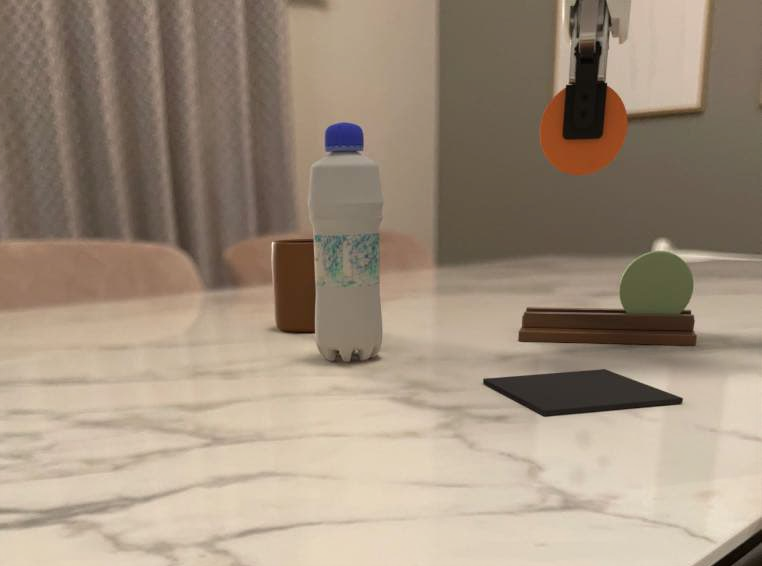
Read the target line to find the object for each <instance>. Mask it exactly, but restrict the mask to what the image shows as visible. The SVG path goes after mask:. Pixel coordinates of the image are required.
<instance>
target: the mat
mask: <svg viewBox="0 0 762 566" xmlns="http://www.w3.org/2000/svg"><path fill="white" fill-rule="evenodd" d="M482 384H483V385H485V386H487V387H489V388H491V389H493V390H495V391H497V392H499V393H501V394H502V395H504V396H506V397H508V398H510V399H511V400H514V402H515V401H516V402H517V403H519V404H521V405H523V406H525V407H526V408H529V409H530V410H532V411H534V412H536V413H538V414H540V415H542V416H543V417H548V416H559V415H569V414H581V413H591V412H592V413H593V412H602V411H614V410H623V409H636V408H646V407H647V408H648V407H657V406H667V405H677V404H678V405H679V404H683V403H684V398H683V397H682V396H679V395H676V394H673V393H670V392H668V391H665V390H662V389H660V388H657V387H654V386H652V385H649V384H646V383H644V382H641V381H638V380H635V379H633V378H630V377H627V376H625V375H622V374H619V373H616V372H615V371H611V370H609V369H607V368H602V369H601V368H600V369H588V370H577V371H562V372H551V373H550V372H549V373H538V374H524V375H514V376H513V375H512V376H501V377H485V378H483V379H482Z"/></svg>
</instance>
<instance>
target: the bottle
mask: <svg viewBox="0 0 762 566" xmlns="http://www.w3.org/2000/svg"><path fill="white" fill-rule="evenodd" d="M364 143H365V139H364V132H363V128H362V127H361V126H360V125H358V124H357V123H352V122H346V121H345V122H344V121H343V122H337V123H333V124H331V125H329V126H328V127H327V128H326V129H325V132H324V151H325V153H328V154H327V155H325V156H323V157H322V158H320V159H318V160H317V161H316V162H315V163H313V164H312V165H311V166H310V172H309V185H308V186H309V187H308V196H307V197H308V198H307V206H308V207H307V208H308V210H309V217H308V220H309V222H310V224H311V227H312V229H313V234H312V235H313V239H314V262H315V285H316V304H315V332H314V335H315V337H314V338H315V343H316V347H317V350H318V352H319V354H320V355H321V356H322V357H324V358H325V359H326V360H327V361H331V362H334V361H335V360H336V358H337V355H339V354H340V357H341V360H342V361H343V362H345V363H349V362H351V359H352V355H353V354H355V353H356V351H357V352H358V353H357V354H358V357H359V360H360V361H361V362H363V361H367V360H368V359H372V358H375V357H376V356H377V355H378V354H379V352H380V351H381V349H382V344H383V343H382V342H383V313H382V303H381V292H380V291H381V290H380V289H381V288H380V287H381V286H380V285H381V284H380V283H381V279H380V278H381V277H380V275H381V274H380V273H381V272H380V271H381V269H380V266H381V265H380V226H381V223H382V220H383V218H384V216H383V206H384V197H383V191H382V183H381V182H382V181H381V175H380V166H379V165H378V163H376V162H375V161H374V160H373V159H370V158H369V157H367V156H366V155H364V154H362V153H360V152H364Z"/></svg>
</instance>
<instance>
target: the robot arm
mask: <svg viewBox="0 0 762 566" xmlns="http://www.w3.org/2000/svg"><path fill="white" fill-rule="evenodd" d="M561 2H562V3H561V4H562V10H561V11H562V12H561V13H562V31H563V32H562V33H563V35H564V37H565V39H566V42H567V43H568V44H569V45H570V54H569V55H570V56H569V69H568V70H569V71H568V72H569V73H568V84H565V88H566V92H565V106H564V121H563V138H564V139H566V140H576V139H599V138H601V137H602V135H603V127H604V116H605V105H606V93H607V86H608V82H607V81H606V80H607V70H608V69H607V67H608V59H609V50H610V35H611V36H612V38H613V39H618V44H619V45H623V44H624V43H626V41H627V40H628V37H629V28H630V19H631V9H632V8H631V7H632V0H562V1H561Z"/></svg>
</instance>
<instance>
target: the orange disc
mask: <svg viewBox="0 0 762 566" xmlns="http://www.w3.org/2000/svg"><path fill="white" fill-rule="evenodd" d="M565 92H566V87H564V88H563V89H561V90H560V91H559V92H558V93H556V94H555V95H554V96H553V98H552V99H551V100H550V101H549V103H548V104H547V106H546V108H545V110H544V111H543V114H542V117H541V121H540V124H539V125H540V126H539V141H540V142H539V143H540V146H541V150H542V153H543V154H544V156H545V158H546V159H547V160H548V162H549V164H551V166H553V167H554V168H555V169H556V170H558V171H560V172H562V173H564V174H567V175H572V176H587V175H590V174H594V173H597V172H599V171H600V170H602V169H604V168H606V167H607V166H608V165H609V164H611V162H613V160H615V159H616V157H617V156H618V154H619V153H620V151H621V150H622V148H623V145H624V143H625V141H626V137H627V133H628V122H629V121H628V113H627V110H626V106H625V103H624V101H623V100H622V98H621V97H620V95H619V94H618V93H617V92H616V91H615V89H613V88H612V87H610V86H609V85H607V93H606V105H605V116H604V127H603V135H602V137H601V138H599V139H576V140H566V139H564V138H563V121H564V106H565Z"/></svg>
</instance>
